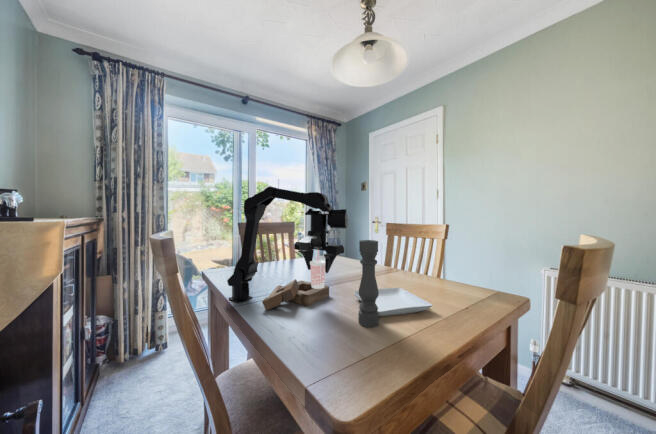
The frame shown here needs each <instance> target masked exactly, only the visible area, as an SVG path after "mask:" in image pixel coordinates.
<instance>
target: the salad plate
mask: <svg viewBox="0 0 656 434" xmlns="http://www.w3.org/2000/svg"><path fill="white" fill-rule="evenodd" d="M378 291H379V295H378V298H377V299H376V302H375V303H376V305H377V306H378V310H377V311H378V312H379V317H382V316H384V317H386V316H387V317H388V316H395V315H405V314H413V313H417V312H422V311H423V312H425V310H428V309H430V308H432V307H433V304H432V303H430V302H428V301H426V300H425V299H422V298H421V297H419V296H417V295H415V294H413V293H411V292H409V291H407V290H405V289H404V288H402V287H391V288H390V287H389V288H378ZM352 293H353V295H354V297H355V298H356V299H358V300H359V301H361V298H360V296H359V290H358V291H357V290H355V291H353V292H352ZM361 302H362V301H361Z"/></svg>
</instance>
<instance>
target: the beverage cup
mask: <svg viewBox="0 0 656 434" xmlns="http://www.w3.org/2000/svg"><path fill="white" fill-rule="evenodd" d="M310 265H311V270H310V279H311V280H310V283H311V287H312V288H315V289H321V288H324V285H325V283H326V281H325V280H326V272H325V260H322V259H321V260H320V250H317V259H316V260H312V261H310Z"/></svg>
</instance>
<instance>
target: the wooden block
mask: <svg viewBox="0 0 656 434" xmlns="http://www.w3.org/2000/svg"><path fill="white" fill-rule="evenodd" d="M297 282H298V280H297V279H294V280H292V281H290V282H289V283H287V284H286V285H283V286H284V287H283V286H282V285H280V284H279V285H277V286H276V287H275V288H274V289H273V291H271V293H270V294H269V295H268V296H267V297H264V299H263V300H262V301H261V303H262V305H263V307H264V310H265V311H266V312H267V311H269V310H271V309H273V308H276V307H278V306H280V305H281V303H282V302H283V301H284V303H286V302H290V301H289V300H292V299H294V297H295V295H296V293H297V291H298V289H299V285H298V283H297ZM280 287H282V288H280ZM279 288H280V289H279Z"/></svg>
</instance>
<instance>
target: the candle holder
mask: <svg viewBox="0 0 656 434" xmlns="http://www.w3.org/2000/svg"><path fill="white" fill-rule="evenodd" d="M358 244H359V246H358V247H359V249H358V250H359V251H358V252H359V253H360V256H361V259H360V260H359V263H360V264H361V267H362V268H361V273H362V274H361V279H360V283H359V287H358V291H359V296H360V298H361V302H360V304H359V308H358V312H357V313H358V318H357V319H358V324H359V326H362V327H365V328H375V327H378V325H380V323H379V321H380V318H379V317H380V316H379V312H378V311H377V310H378V306H377V305H376V303H375V302H376V299H377V298H378V295H379V291H378V289H379V288H378V287H379V286H378V283H377V278H376V265H377V264H378V260H377V259H376V258H377V255H378V252H379V241H378V240H373V239H365V240H363V239H362V240H361V239H360V240H359V243H358Z"/></svg>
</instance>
